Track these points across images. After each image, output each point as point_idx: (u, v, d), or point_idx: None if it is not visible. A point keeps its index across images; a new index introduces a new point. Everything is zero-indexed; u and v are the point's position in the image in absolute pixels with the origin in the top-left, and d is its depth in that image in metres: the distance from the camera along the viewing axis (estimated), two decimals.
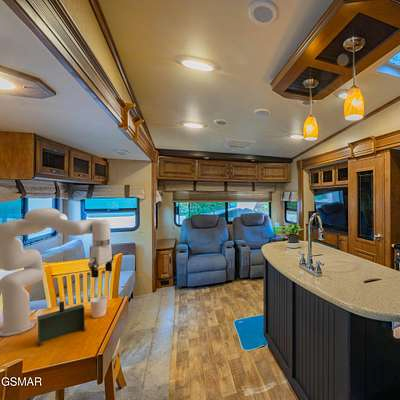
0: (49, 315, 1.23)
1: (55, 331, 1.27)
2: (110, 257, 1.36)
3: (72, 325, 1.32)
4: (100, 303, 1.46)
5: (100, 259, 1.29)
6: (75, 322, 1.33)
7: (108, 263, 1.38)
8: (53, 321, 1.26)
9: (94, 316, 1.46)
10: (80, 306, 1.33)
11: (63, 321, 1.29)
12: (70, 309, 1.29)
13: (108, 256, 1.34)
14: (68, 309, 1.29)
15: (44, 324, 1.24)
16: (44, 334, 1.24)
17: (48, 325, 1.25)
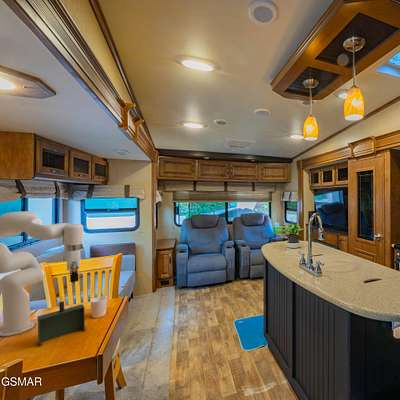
0: (49, 315, 1.23)
1: (55, 331, 1.27)
2: None
3: (72, 325, 1.32)
4: (100, 303, 1.46)
5: (79, 263, 1.30)
6: (75, 322, 1.33)
7: None
8: (53, 321, 1.26)
9: (94, 316, 1.46)
10: (80, 306, 1.33)
11: (63, 321, 1.29)
12: (70, 309, 1.29)
13: None
14: (68, 309, 1.29)
15: (44, 324, 1.24)
16: (44, 334, 1.24)
17: (48, 325, 1.25)
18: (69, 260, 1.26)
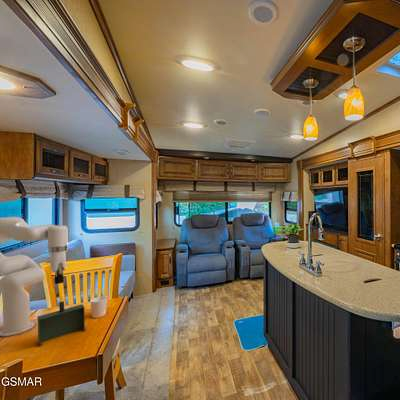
0: (49, 315, 1.23)
1: (55, 331, 1.27)
2: None
3: (72, 325, 1.32)
4: (100, 303, 1.46)
5: (65, 264, 1.29)
6: (75, 322, 1.33)
7: None
8: (53, 321, 1.26)
9: (94, 316, 1.46)
10: (80, 306, 1.33)
11: (63, 321, 1.29)
12: (70, 309, 1.29)
13: None
14: (68, 309, 1.29)
15: (44, 324, 1.24)
16: (44, 334, 1.24)
17: (48, 325, 1.25)
18: (55, 262, 1.25)
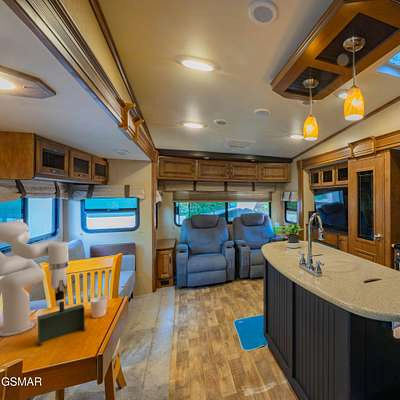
0: (49, 315, 1.23)
1: (55, 331, 1.27)
2: None
3: (72, 325, 1.32)
4: (100, 303, 1.46)
5: None
6: (75, 322, 1.33)
7: None
8: (53, 321, 1.26)
9: (94, 316, 1.46)
10: (80, 306, 1.33)
11: (63, 321, 1.29)
12: (70, 309, 1.29)
13: None
14: (68, 309, 1.29)
15: (44, 324, 1.24)
16: (44, 334, 1.24)
17: (48, 325, 1.25)
18: (56, 279, 1.26)
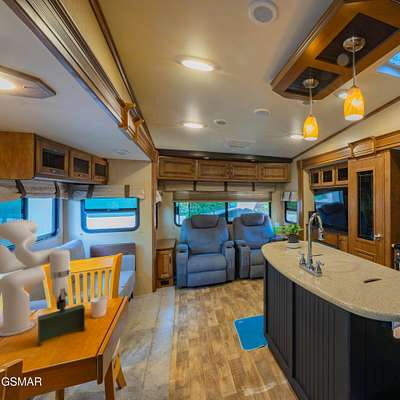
0: (49, 315, 1.22)
1: (55, 331, 1.27)
2: None
3: (72, 325, 1.32)
4: (100, 303, 1.46)
5: (67, 289, 1.27)
6: (75, 321, 1.33)
7: None
8: (53, 321, 1.26)
9: (94, 316, 1.46)
10: (80, 306, 1.32)
11: (64, 321, 1.29)
12: (70, 309, 1.29)
13: None
14: (68, 309, 1.29)
15: (44, 324, 1.23)
16: (44, 334, 1.24)
17: (48, 325, 1.25)
18: (57, 287, 1.24)
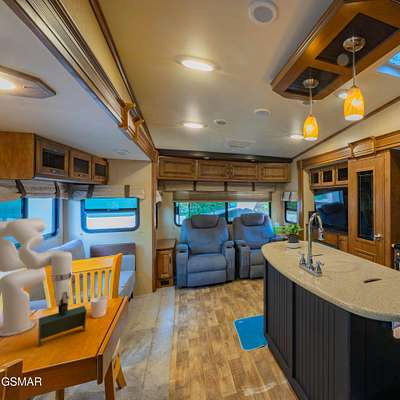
0: (51, 319, 1.20)
1: (55, 330, 1.26)
2: None
3: (73, 324, 1.31)
4: (100, 303, 1.46)
5: None
6: (75, 321, 1.32)
7: None
8: (54, 321, 1.24)
9: (94, 316, 1.46)
10: (82, 309, 1.30)
11: (64, 321, 1.28)
12: (72, 312, 1.26)
13: None
14: (70, 312, 1.26)
15: (45, 324, 1.22)
16: (44, 333, 1.23)
17: (49, 325, 1.23)
18: (59, 291, 1.20)
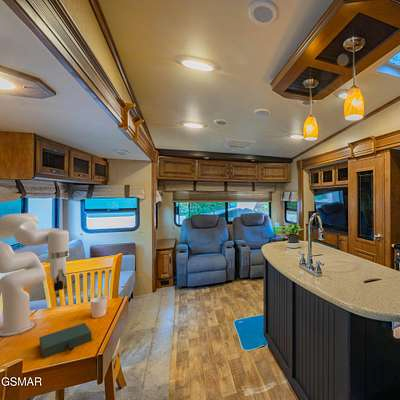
0: (55, 350, 1.14)
1: None
2: None
3: None
4: (100, 303, 1.46)
5: (65, 270, 1.24)
6: None
7: None
8: None
9: (94, 316, 1.46)
10: (88, 338, 1.24)
11: None
12: (77, 342, 1.21)
13: None
14: (75, 341, 1.20)
15: None
16: None
17: None
18: (55, 268, 1.20)
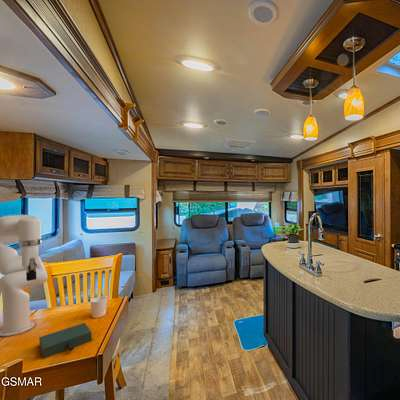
0: (55, 350, 1.14)
1: None
2: None
3: None
4: (100, 303, 1.46)
5: (38, 259, 1.20)
6: None
7: None
8: None
9: (94, 316, 1.46)
10: (88, 338, 1.24)
11: None
12: (77, 342, 1.21)
13: None
14: (75, 341, 1.20)
15: None
16: None
17: None
18: (26, 256, 1.16)
